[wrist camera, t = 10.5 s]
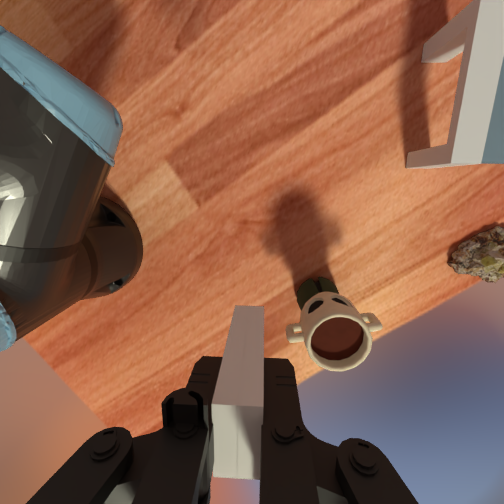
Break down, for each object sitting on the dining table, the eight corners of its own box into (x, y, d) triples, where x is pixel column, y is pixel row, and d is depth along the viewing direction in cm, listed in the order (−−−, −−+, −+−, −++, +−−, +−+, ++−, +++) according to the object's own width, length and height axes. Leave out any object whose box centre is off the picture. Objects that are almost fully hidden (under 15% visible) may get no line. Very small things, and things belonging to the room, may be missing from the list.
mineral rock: (541, 219, 36) (553, 280, 35) (514, 223, 40) (524, 277, 40) (453, 232, 37) (464, 291, 37) (436, 235, 41) (445, 287, 41)
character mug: (350, 267, 40) (389, 305, 28) (355, 310, 42) (393, 365, 30) (277, 279, 41) (283, 321, 29) (285, 321, 43) (293, 378, 31)
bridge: (405, 168, 37) (450, 163, 28) (423, 43, 33) (482, -8, 24) (428, 168, 37) (481, 163, 28) (449, 43, 33) (517, -8, 24)
